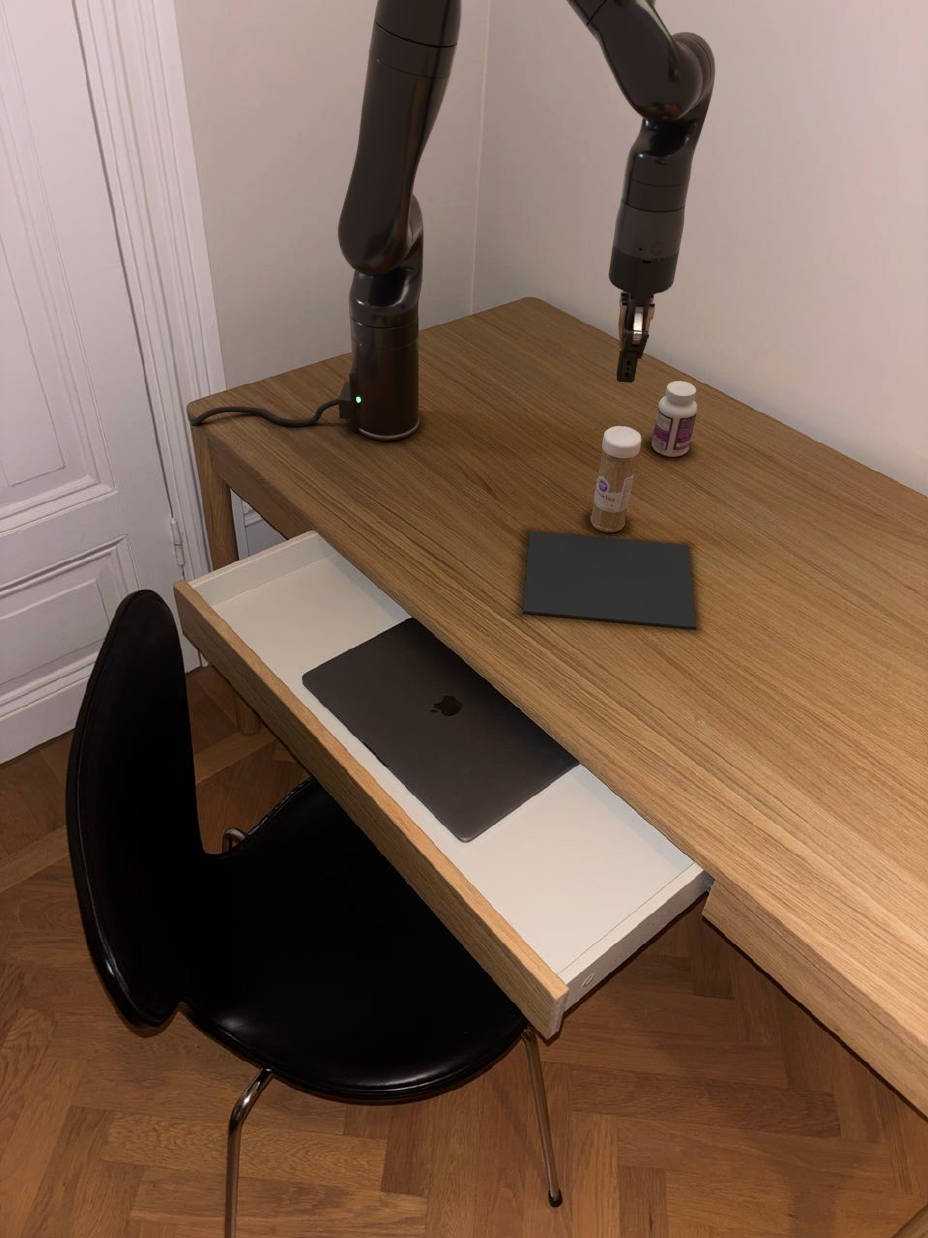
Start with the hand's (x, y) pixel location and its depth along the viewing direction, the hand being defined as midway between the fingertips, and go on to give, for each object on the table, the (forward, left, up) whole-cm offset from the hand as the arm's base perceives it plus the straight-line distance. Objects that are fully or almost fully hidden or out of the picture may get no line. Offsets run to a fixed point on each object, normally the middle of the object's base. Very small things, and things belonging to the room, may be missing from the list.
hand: (624, 379), depth 119 cm
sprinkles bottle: (0, -9, -16) cm, 18 cm away
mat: (0, -20, -16) cm, 25 cm away
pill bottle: (+9, +10, -16) cm, 21 cm away
